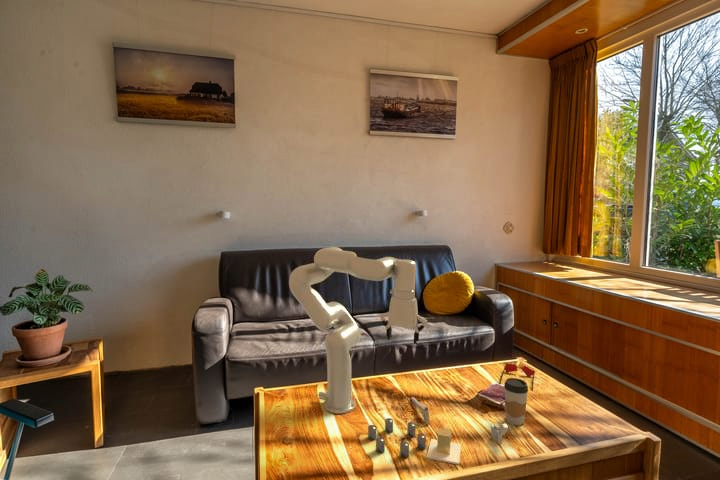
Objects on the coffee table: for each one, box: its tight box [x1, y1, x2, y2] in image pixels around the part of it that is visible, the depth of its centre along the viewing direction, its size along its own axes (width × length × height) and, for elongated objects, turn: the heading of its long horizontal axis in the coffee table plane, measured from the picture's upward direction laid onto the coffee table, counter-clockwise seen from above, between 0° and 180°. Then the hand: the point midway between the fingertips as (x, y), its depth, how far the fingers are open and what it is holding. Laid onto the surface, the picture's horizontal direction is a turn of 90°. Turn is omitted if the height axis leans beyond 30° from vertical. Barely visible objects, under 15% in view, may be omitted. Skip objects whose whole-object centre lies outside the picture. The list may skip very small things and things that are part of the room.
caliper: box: [410, 396, 430, 425], centre depth 154 cm, size 20×1×6 cm, turn 9°
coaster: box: [426, 438, 462, 465], centre depth 128 cm, size 10×10×1 cm
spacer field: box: [367, 417, 427, 460], centre depth 133 cm, size 20×15×4 cm
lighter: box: [490, 423, 509, 445], centre depth 133 cm, size 7×2×8 cm, turn 16°
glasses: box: [498, 363, 536, 392], centre depth 181 cm, size 14×16×5 cm
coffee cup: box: [503, 377, 529, 426], centre depth 146 cm, size 8×8×15 cm
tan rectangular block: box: [436, 427, 452, 455], centre depth 128 cm, size 4×4×6 cm
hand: (402, 340), depth 143 cm, fingers open, 9 cm apart
